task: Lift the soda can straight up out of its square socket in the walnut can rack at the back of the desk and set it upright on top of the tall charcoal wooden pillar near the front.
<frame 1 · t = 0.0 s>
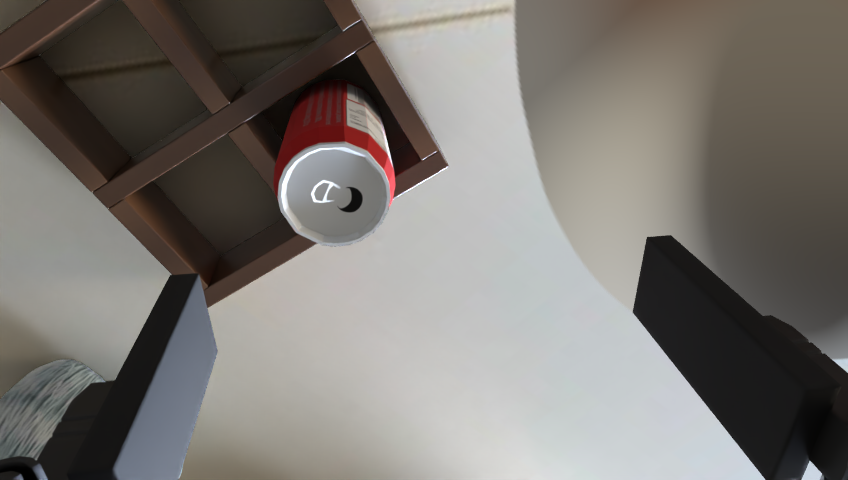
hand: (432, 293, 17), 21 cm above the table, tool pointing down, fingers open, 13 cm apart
yarn skein: (110, 408, 43), on the table
soda can: (337, 121, 35), resting in can rack
can rack: (240, 100, 33), on the table
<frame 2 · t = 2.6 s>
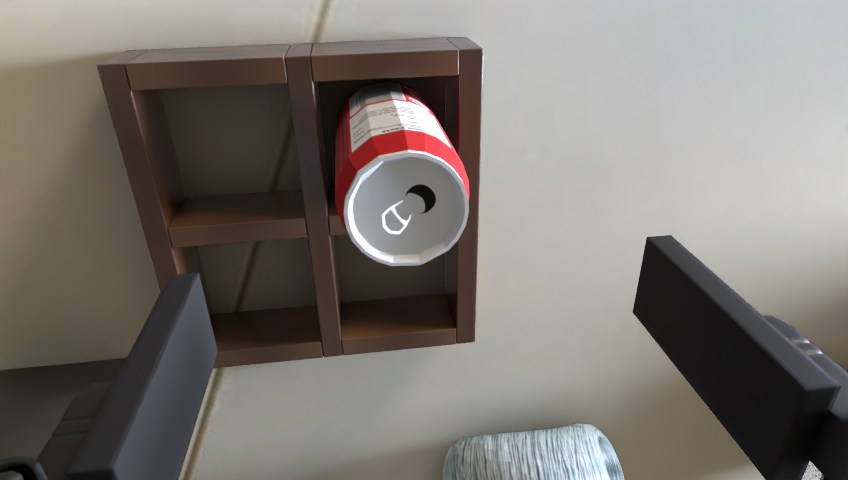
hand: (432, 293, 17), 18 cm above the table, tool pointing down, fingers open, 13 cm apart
yarn skein: (517, 442, 46), on the table
soda can: (384, 125, 32), resting in can rack
can rack: (319, 197, 33), on the table
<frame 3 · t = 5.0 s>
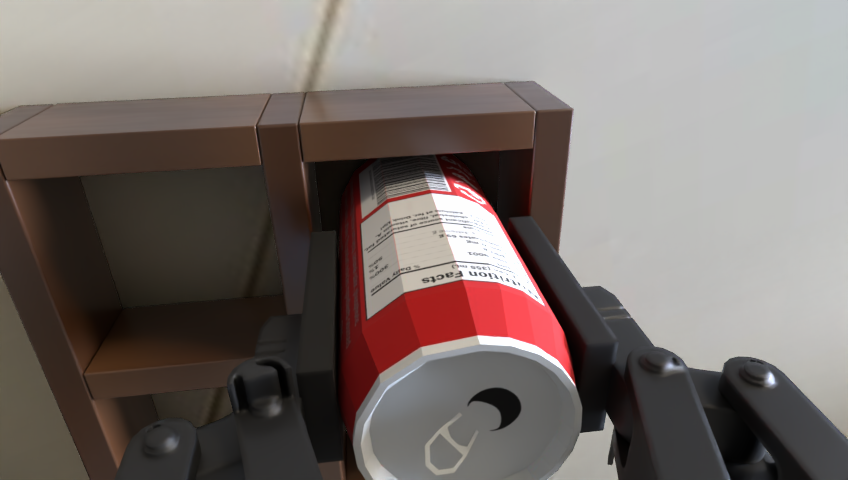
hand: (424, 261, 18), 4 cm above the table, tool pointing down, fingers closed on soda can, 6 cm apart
soda can: (409, 205, 22), resting in can rack, touching gripper
can rack: (316, 303, 24), on the table
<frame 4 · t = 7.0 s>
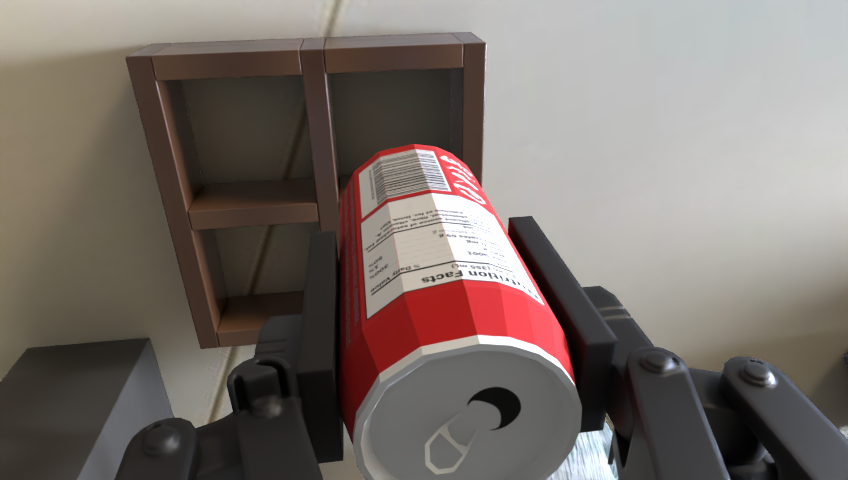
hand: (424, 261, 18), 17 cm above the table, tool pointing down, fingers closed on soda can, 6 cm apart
yarn skein: (519, 426, 47), on the table
soda can: (409, 205, 22), point 13 cm above the table, touching gripper
can rack: (330, 185, 35), on the table
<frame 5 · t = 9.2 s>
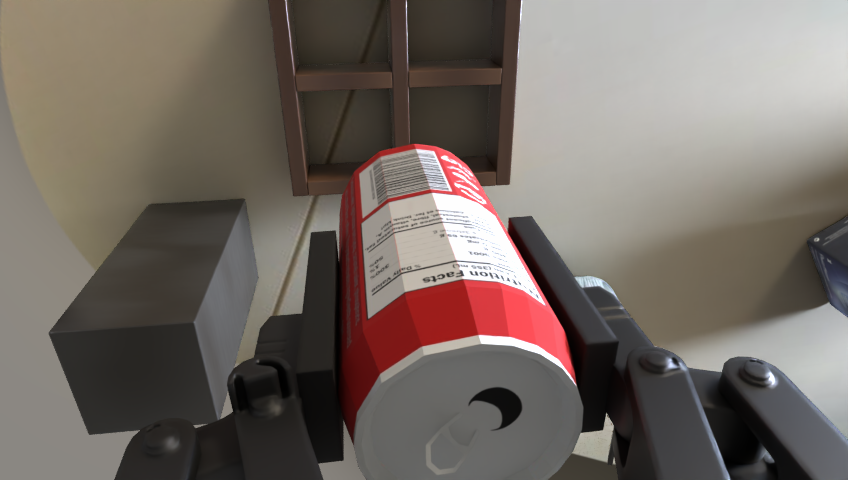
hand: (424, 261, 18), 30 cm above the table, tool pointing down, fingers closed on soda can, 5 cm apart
yarn skein: (537, 296, 57), on the table
soda can: (410, 205, 22), point 26 cm above the table, touching gripper
can rack: (396, 69, 45), on the table
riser: (139, 381, 34), on the table
small box: (841, 257, 59), on the table
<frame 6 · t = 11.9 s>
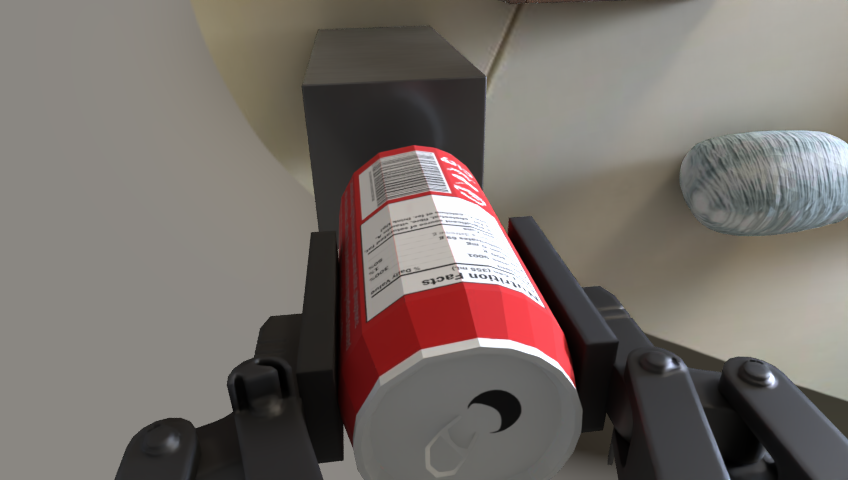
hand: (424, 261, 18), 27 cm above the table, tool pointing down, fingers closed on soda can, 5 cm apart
yarn skein: (736, 165, 49), on the table
soda can: (409, 206, 22), point 22 cm above the table, touching gripper
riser: (399, 168, 26), on the table
when the fingers open (22 cm above the table, at t = 13.6 s): soda can stays where it is, resting on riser.
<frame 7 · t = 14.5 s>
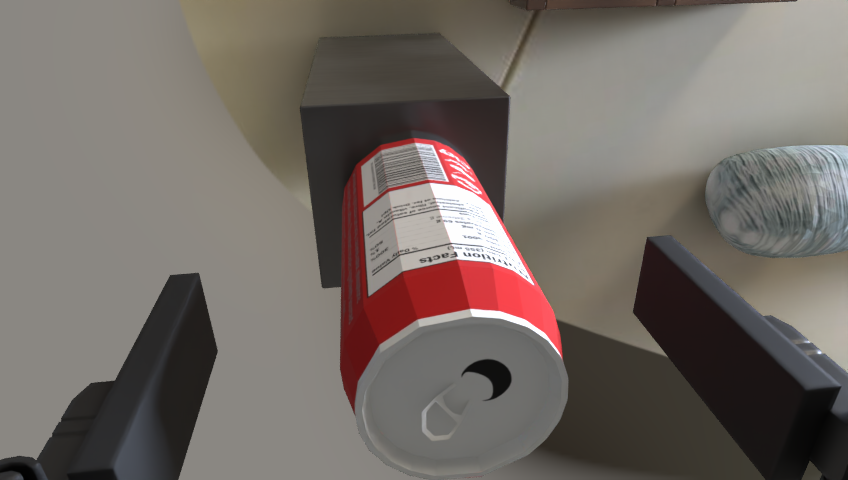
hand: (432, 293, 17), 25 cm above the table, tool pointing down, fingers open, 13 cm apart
yarn skein: (765, 181, 46), on the table
soda can: (409, 197, 23), point 18 cm above the table, touching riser
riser: (410, 198, 23), on the table
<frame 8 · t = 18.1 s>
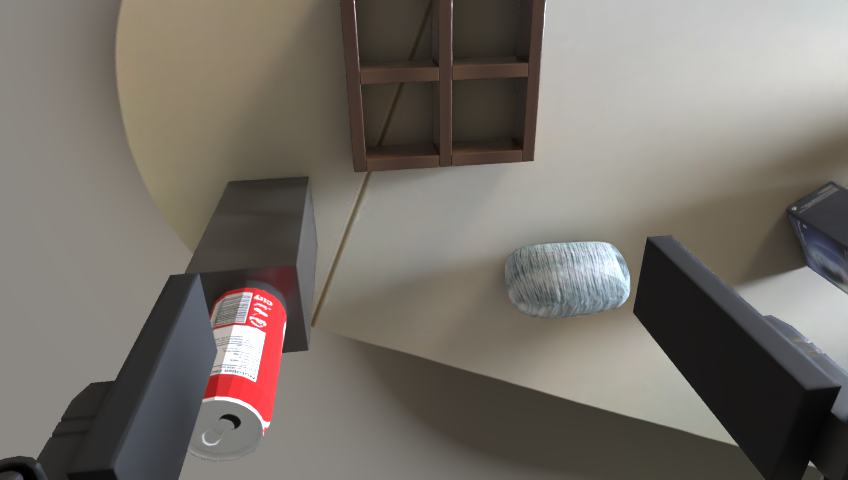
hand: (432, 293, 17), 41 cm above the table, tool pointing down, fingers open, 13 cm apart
yarn skein: (554, 260, 66), on the table
soda can: (250, 313, 43), point 18 cm above the table, touching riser
can rack: (438, 65, 54), on the table
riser: (249, 314, 43), on the table
small box: (816, 224, 68), on the table
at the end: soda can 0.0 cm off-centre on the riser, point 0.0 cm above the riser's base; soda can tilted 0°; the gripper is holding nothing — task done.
